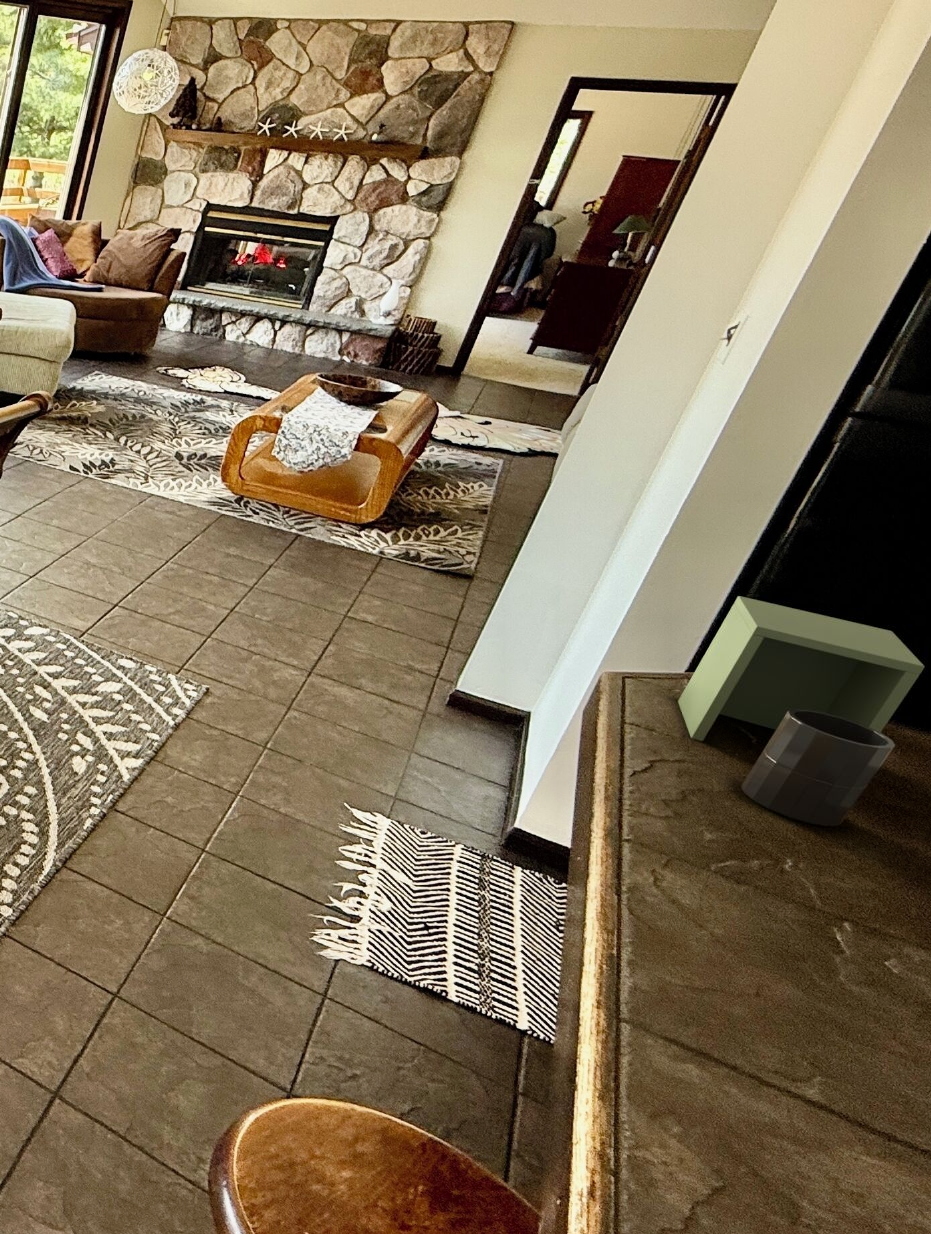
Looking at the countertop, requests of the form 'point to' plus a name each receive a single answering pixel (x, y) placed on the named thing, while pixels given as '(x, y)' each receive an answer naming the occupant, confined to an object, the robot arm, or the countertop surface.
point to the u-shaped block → (796, 669)
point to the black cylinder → (816, 767)
